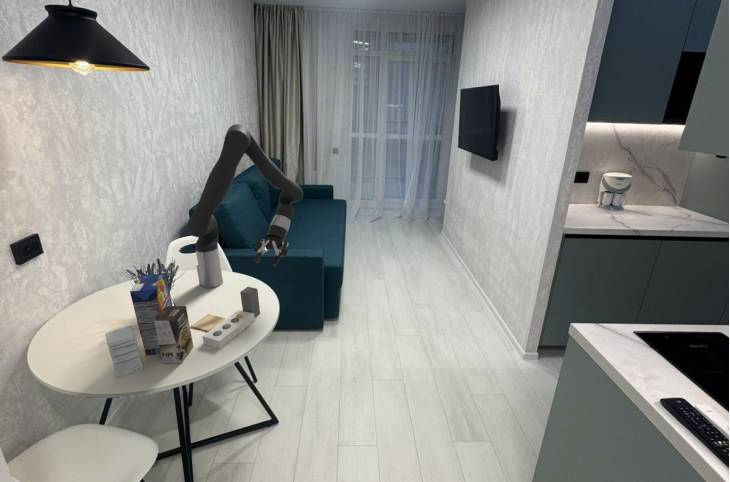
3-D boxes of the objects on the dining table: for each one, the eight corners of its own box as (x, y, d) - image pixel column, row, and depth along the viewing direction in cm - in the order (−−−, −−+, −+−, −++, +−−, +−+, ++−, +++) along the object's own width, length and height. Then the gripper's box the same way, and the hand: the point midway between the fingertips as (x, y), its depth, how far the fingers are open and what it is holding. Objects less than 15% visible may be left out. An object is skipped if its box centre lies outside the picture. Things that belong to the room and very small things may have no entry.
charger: (240, 319, 147) (236, 294, 144) (251, 311, 153) (247, 286, 149) (249, 321, 146) (246, 296, 142) (260, 313, 152) (257, 288, 148)
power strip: (203, 343, 133) (202, 334, 132) (239, 316, 149) (238, 308, 148) (220, 348, 130) (219, 339, 129) (254, 320, 146) (253, 312, 145)
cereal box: (155, 335, 138) (141, 275, 129) (178, 333, 139) (165, 273, 131) (145, 356, 127) (129, 291, 118) (170, 353, 128) (156, 289, 120)
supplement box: (114, 365, 122) (105, 332, 118) (141, 357, 126) (132, 324, 122) (116, 379, 117) (106, 344, 112) (144, 369, 121) (135, 335, 116)
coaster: (191, 327, 143) (190, 325, 142) (208, 315, 150) (208, 314, 150) (209, 332, 139) (209, 331, 139) (226, 319, 147) (226, 318, 147)
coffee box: (182, 363, 123) (173, 320, 117) (162, 363, 123) (152, 320, 117) (194, 346, 132) (186, 305, 126) (176, 346, 132) (167, 305, 126)
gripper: (260, 222, 159) (246, 258, 154) (289, 225, 154) (275, 262, 148) (269, 230, 166) (256, 265, 160) (297, 234, 161) (284, 269, 155)
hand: (265, 263), depth 154 cm, fingers open, 8 cm apart
